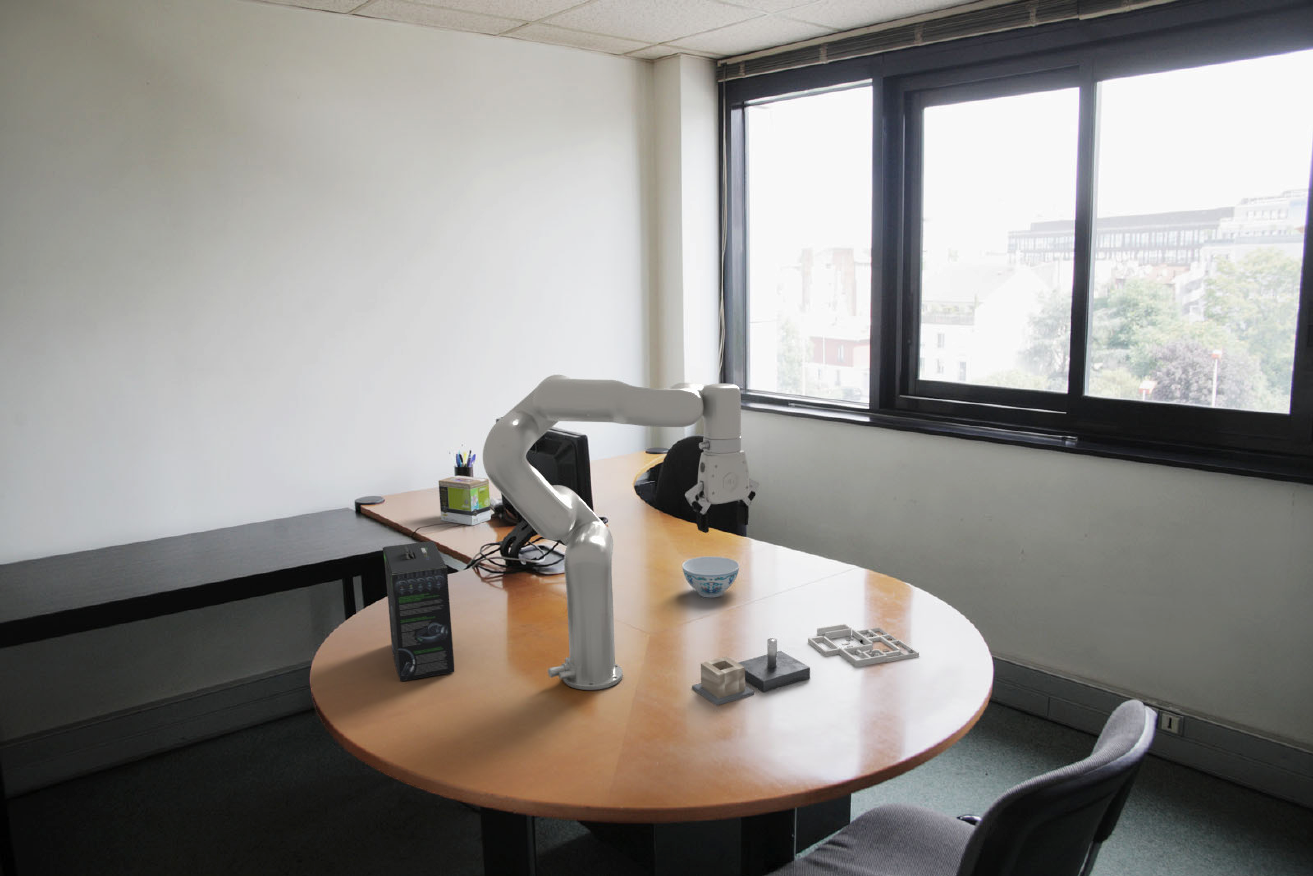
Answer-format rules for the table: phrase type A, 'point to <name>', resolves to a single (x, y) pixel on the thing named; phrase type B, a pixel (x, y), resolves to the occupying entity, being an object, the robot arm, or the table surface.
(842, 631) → the floor plan model
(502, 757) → the table surface
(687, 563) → the chinaware
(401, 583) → the headset box
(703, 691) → the mat
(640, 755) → the table surface
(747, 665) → the post stand
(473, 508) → the tea box
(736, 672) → the collar
